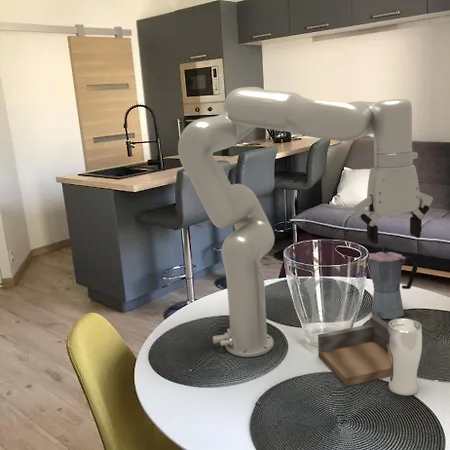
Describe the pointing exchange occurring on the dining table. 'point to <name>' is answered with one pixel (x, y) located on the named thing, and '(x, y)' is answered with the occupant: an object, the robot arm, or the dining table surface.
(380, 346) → the wooden corner tray
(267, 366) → the dining table surface
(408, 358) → the beer glass
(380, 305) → the moka pot
